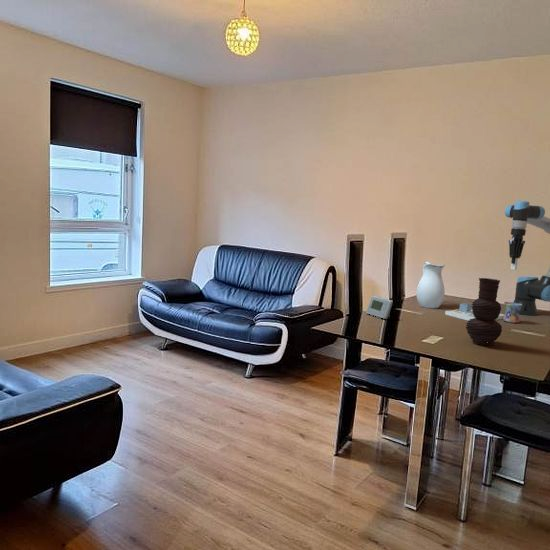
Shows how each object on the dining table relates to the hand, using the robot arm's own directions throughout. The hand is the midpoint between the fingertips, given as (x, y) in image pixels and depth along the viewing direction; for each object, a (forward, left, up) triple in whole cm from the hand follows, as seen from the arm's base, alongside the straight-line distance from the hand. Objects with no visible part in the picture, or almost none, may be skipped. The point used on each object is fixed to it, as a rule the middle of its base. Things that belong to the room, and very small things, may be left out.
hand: (513, 269), depth 284 cm
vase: (+67, +30, -30) cm, 79 cm away
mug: (+4, +5, -30) cm, 30 cm away
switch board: (+14, -11, -29) cm, 34 cm away
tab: (+18, -16, -27) cm, 36 cm away
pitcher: (+18, -44, -30) cm, 56 cm away
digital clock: (+75, -29, -30) cm, 86 cm away
